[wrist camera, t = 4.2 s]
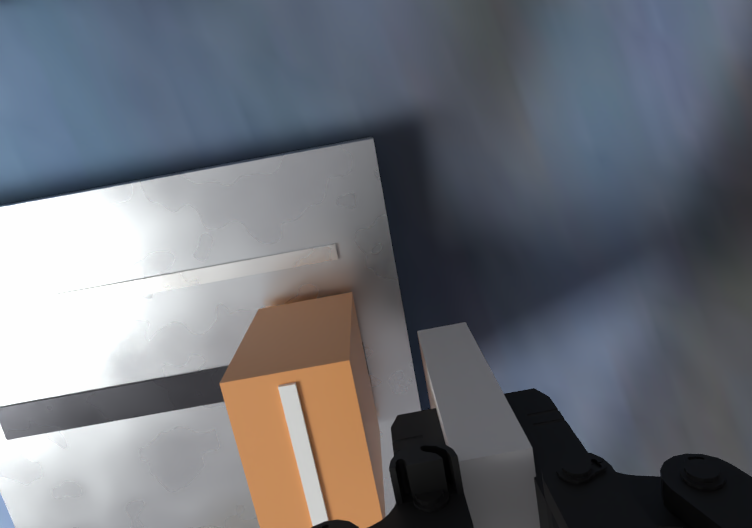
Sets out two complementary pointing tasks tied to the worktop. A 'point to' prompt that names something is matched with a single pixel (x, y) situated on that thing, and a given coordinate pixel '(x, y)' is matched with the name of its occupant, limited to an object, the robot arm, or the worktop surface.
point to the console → (177, 330)
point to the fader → (306, 416)
